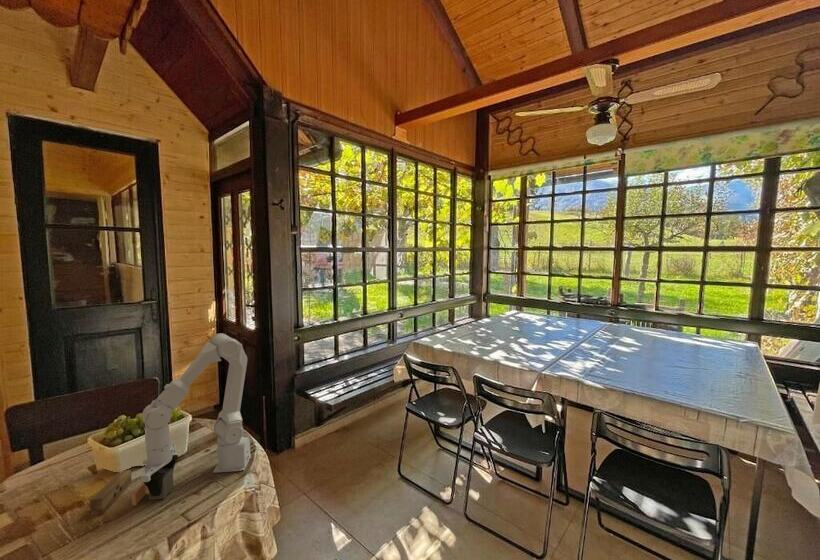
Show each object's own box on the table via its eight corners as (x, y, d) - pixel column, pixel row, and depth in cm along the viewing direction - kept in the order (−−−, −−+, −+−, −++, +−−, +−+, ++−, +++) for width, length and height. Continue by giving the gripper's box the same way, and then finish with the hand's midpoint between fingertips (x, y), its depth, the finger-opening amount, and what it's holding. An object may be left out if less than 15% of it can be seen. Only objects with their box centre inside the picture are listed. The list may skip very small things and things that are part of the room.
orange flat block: (152, 485, 106) (152, 474, 106) (136, 505, 99) (135, 493, 98) (149, 485, 106) (148, 475, 106) (132, 505, 98) (131, 494, 98)
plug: (173, 486, 106) (172, 468, 105) (164, 498, 101) (162, 479, 100) (153, 488, 105) (152, 469, 104) (143, 500, 100) (142, 480, 99)
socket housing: (132, 483, 108) (131, 469, 107) (104, 513, 96) (102, 498, 95) (121, 484, 107) (120, 470, 107) (91, 514, 95) (89, 499, 95)
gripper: (157, 432, 108) (160, 473, 110) (126, 461, 94) (130, 508, 95) (182, 430, 109) (185, 471, 110) (155, 459, 95) (158, 505, 96)
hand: (161, 488), depth 103 cm, fingers closed on plug, 5 cm apart
